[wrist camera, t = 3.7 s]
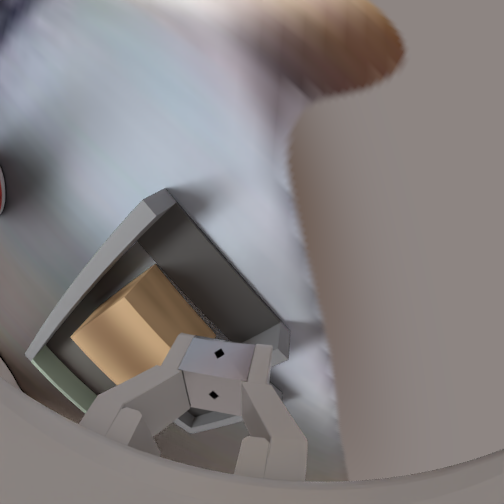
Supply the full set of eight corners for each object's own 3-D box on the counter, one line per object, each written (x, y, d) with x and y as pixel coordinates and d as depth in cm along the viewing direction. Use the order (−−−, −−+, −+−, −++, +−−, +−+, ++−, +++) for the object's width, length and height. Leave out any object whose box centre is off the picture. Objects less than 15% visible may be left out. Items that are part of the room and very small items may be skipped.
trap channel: (140, 433, 27) (133, 449, 24) (37, 340, 23) (24, 354, 21) (329, 373, 18) (331, 400, 16) (165, 188, 15) (142, 199, 12)
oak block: (151, 361, 21) (131, 397, 17) (99, 305, 19) (70, 337, 16) (217, 333, 18) (200, 377, 15) (156, 262, 17) (124, 297, 13)
